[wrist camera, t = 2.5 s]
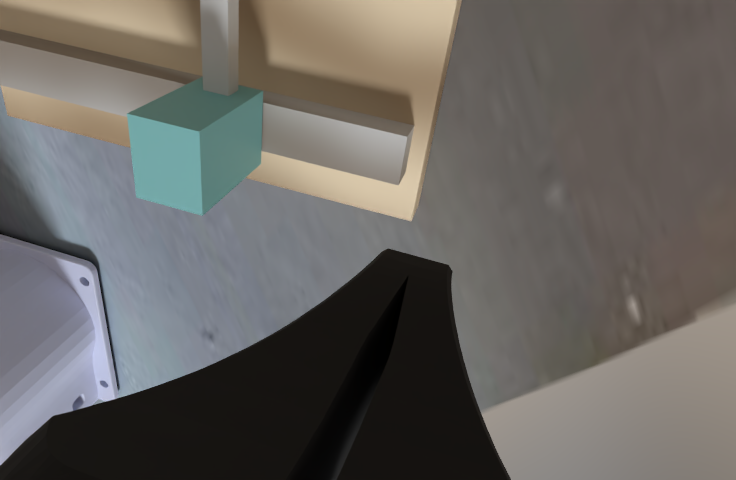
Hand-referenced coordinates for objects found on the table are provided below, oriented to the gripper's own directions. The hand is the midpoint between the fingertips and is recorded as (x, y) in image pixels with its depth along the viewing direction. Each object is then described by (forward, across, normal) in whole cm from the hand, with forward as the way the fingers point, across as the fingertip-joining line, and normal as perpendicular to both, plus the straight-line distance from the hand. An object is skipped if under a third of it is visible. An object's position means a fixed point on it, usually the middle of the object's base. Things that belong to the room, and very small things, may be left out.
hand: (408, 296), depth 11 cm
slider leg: (+7, +7, -2) cm, 10 cm away
